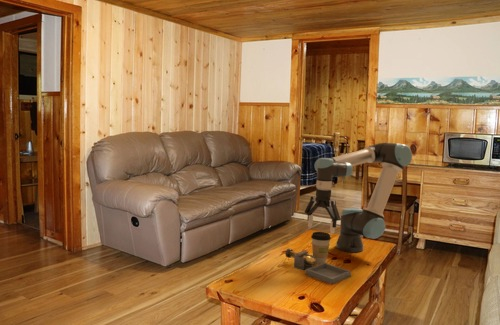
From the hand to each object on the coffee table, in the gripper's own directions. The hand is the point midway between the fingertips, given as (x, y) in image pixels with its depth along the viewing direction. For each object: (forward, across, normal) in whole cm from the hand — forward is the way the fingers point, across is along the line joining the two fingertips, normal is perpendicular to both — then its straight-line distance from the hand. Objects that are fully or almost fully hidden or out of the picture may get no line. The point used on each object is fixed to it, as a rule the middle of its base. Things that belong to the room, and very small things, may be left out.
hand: (320, 230), depth 206 cm
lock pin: (+14, -3, -12) cm, 19 cm away
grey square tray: (+17, +13, -10) cm, 24 cm away
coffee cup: (+17, 0, 0) cm, 17 cm away
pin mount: (+17, -1, -12) cm, 21 cm away
